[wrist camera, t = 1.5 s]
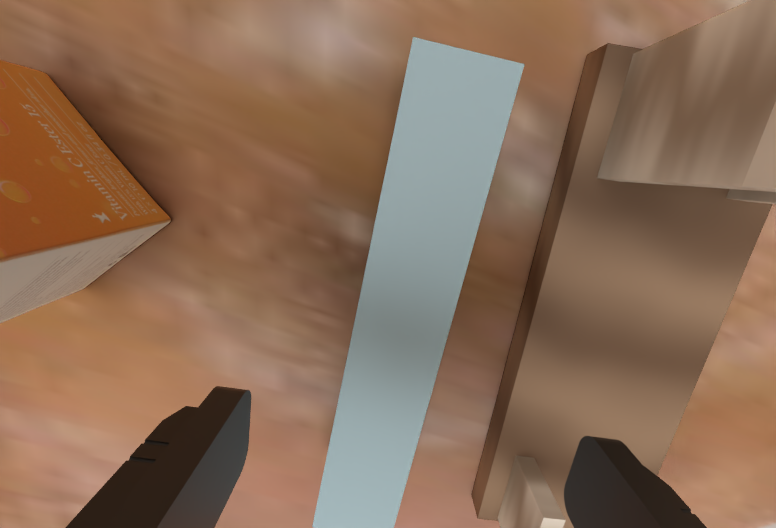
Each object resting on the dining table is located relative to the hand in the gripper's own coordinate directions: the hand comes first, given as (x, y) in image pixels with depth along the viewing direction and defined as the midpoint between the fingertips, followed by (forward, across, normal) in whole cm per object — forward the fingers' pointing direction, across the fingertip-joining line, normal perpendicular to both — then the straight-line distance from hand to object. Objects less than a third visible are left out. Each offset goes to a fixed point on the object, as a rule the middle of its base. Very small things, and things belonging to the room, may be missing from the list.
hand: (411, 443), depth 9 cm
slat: (+10, 0, 0) cm, 10 cm away
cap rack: (+10, -11, 0) cm, 15 cm away
